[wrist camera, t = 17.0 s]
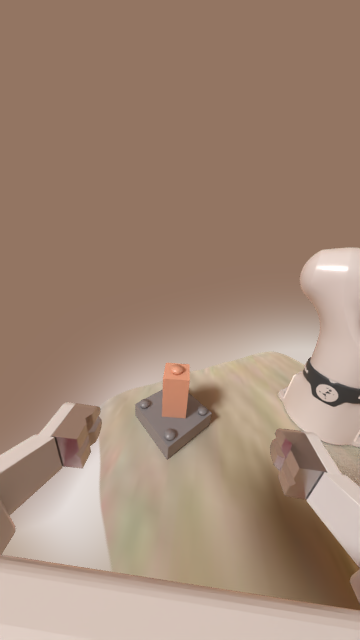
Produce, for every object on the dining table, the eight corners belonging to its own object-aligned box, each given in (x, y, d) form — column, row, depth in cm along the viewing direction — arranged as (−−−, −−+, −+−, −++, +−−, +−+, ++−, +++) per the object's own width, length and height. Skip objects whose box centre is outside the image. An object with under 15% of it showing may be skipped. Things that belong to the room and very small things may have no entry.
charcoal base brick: (175, 393, 51) (177, 379, 49) (209, 425, 43) (212, 410, 41) (135, 416, 44) (135, 401, 42) (167, 461, 35) (168, 444, 34)
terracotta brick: (164, 398, 44) (166, 359, 40) (185, 399, 44) (189, 361, 40) (161, 416, 40) (163, 375, 35) (185, 418, 40) (189, 377, 35)
